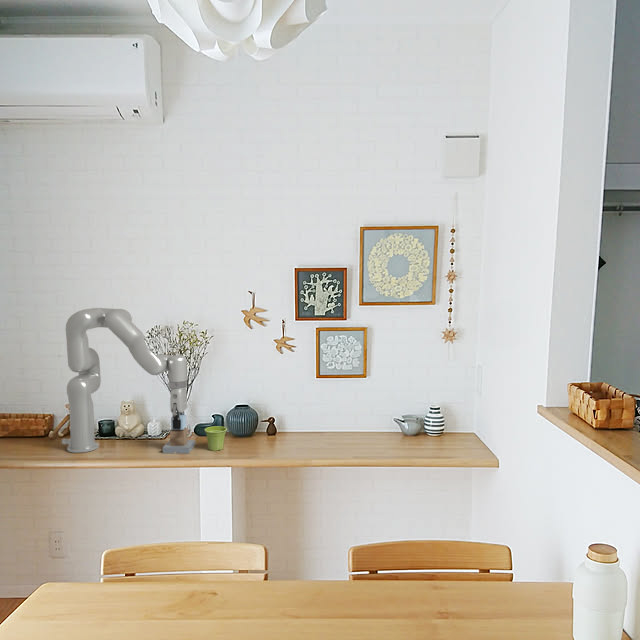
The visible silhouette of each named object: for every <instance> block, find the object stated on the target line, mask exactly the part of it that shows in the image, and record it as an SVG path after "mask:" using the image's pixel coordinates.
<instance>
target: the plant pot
mask: <svg viewBox="0 0 640 640" xmlns="http://www.w3.org/2000/svg"><path fill="white" fill-rule="evenodd" d="M227 430H228V428H227V427H225V426H220V425H219V426H218V425H217V426H216V425H215V426H208V427H206V428H204V431H205V434H206V438H207V439H206V440H207V447H208V450H209V451H211V450H212V451H211V452H217V451H222V450H223V449H224V445H225V444H224V443H225V436H226V433H227Z"/></svg>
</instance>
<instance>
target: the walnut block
mask: <svg viewBox="0 0 640 640" xmlns="http://www.w3.org/2000/svg"><path fill="white" fill-rule="evenodd" d="M188 431H189V429H188V427H185V428H184V429H183V430H181V429H170V431H169V440H170V446H185V444H186V443H187V442H188V440H189V437H188Z"/></svg>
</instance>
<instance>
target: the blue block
mask: <svg viewBox="0 0 640 640" xmlns="http://www.w3.org/2000/svg"><path fill="white" fill-rule="evenodd" d="M180 419H181V430H183V429H184V428H187V415H186V414H184V415H180ZM170 427H171V428H170V430H172V429H173V415H172V416H171V417H170Z"/></svg>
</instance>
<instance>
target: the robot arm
mask: <svg viewBox="0 0 640 640" xmlns="http://www.w3.org/2000/svg"><path fill="white" fill-rule="evenodd" d="M132 319H133V317H132V315H131V313H130V312H129V311H128V310H126V309H123V308H106V307H104V308H103V307H92V308H85V309H81V310H78V311H76V312H75V313H73V314H71V315H70V316H69V318H68V319H67V320H66V323H65V337H66V338H65V339H66V354H67V355H66V357H67V364H68V365H67V366H68V368H69V371H72V372H73V373H78V375H76V376H74V377H72V378H71V379H69V381H68V383H67V385H66V395H67V401H68V409H69V432H70V433H69V434H70V437H69V438H62V439H61V444H62V445H67V446H66V451H67V452H69V453H75V454H76V453H77V454H78V453H80V454H81V453H87V452H91V451H95V450H97V449H99V443H98V442H95V439H96V436H95V411H94V402H93V398H92V394H94V393H96V391H98V390H99V389H100V387H101V381H102V380H101V364H100V357H99V354H98V352H97V351H96V350H95V349H94V348H91V347H89V337H88V334H87V331H88V330H92V329H96V328H105V329H106V328H108V330H110V331H111V333H113V334H114V335H115V336H116V337H117V338H118V340H120V341H121V342H122V343H123V344H124V345H125V346H126V348H128V352H129V353H130V354H131V356H132V357H133V359H134V360H135V362H136V363H137V364H138V365H139V366H140V367H141V368H142V369H143V370H144V371H145V372H147V373H148V374H149V375H152V376H158V375H160V374H163V373H165V372H167V373H168V375H167V379H168V389H169V390H170V395H169V396H170V397H169V398H170V399H169V401H170V405H169V407H170V412H171V413H172V414H171V415H172V416H173V429H181V419H180V415H185V411H186V410H187V409H188V396H187V389H188V375H187V374H188V373H187V372H188V371H187V370H188V368H187V367H188V366H187V365H188V363H187V357H186V356H185V355H182V354H174V355H170V354H165V353H163V354H161V353H160V354H157V355H156V354H154V352H152V350H151V349H150V348H149V347H148V345H147V343H146V342H145V334H144V333H143V331H141V330H140V329H139V328H138V327H137V326H136V325H135V324H134V323H133V322H132V321H133V320H132Z"/></svg>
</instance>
